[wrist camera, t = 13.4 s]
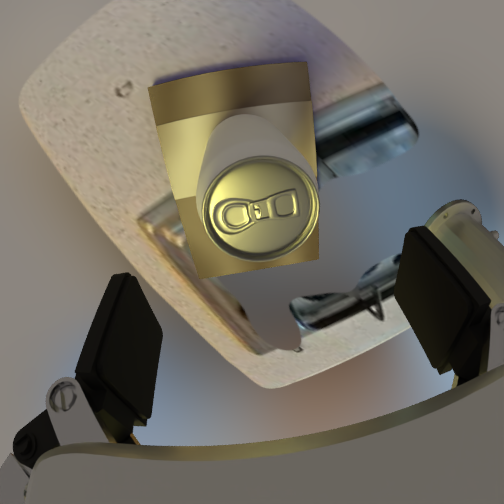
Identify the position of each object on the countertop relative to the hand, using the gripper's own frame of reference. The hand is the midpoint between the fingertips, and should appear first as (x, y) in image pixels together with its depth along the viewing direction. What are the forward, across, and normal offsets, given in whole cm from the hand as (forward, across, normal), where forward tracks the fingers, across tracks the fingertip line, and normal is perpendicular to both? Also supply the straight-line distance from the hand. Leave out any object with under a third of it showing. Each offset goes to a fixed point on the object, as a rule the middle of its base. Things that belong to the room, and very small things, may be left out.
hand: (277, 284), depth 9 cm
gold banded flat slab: (+18, +1, +3) cm, 19 cm away
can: (+17, 0, 0) cm, 17 cm away
